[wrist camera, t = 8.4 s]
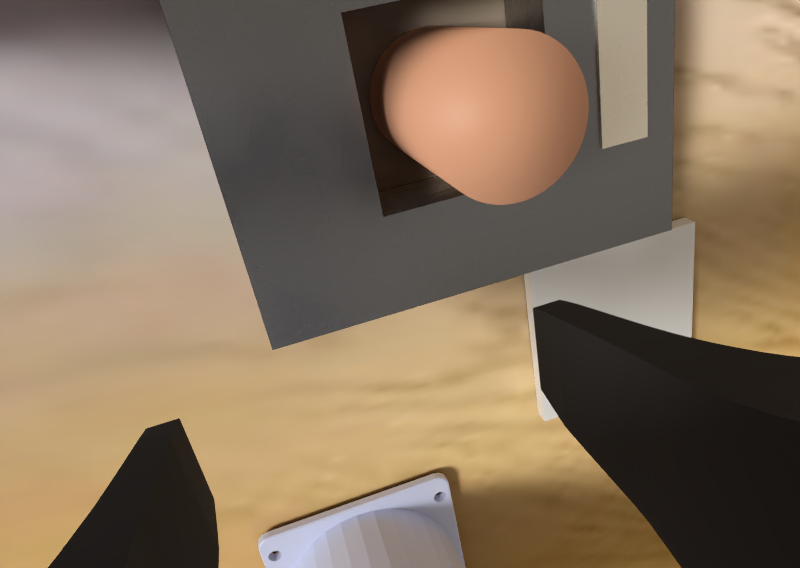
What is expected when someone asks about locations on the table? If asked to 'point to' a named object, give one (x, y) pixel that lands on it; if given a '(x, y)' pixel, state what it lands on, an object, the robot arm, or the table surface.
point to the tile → (622, 286)
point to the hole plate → (420, 201)
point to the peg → (483, 107)
